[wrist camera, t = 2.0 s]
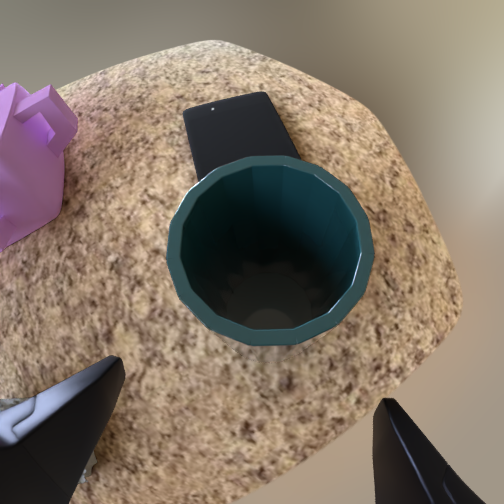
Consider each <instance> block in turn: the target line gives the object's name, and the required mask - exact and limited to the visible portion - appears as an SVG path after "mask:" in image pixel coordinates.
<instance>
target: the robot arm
mask: <svg viewBox="0 0 504 504" xmlns="http://www.w3.org/2000/svg"><path fill="white" fill-rule="evenodd" d="M125 376H126V374H125V370H124V366H123V361H122V359H121V358H120V357H117V356H113V355H110V356H108V357H106V358H104V359H102V360H101V361H99V362H97V363H95V364H93V365H91V366H89V367H88V368H86V369H84V370H82V371H80V372H78V373H77V374H75V375H73V376H71V377H69V378H67V379H65V380H63V381H62V382H60V383H58V384H56V385H54V386H52V387H50V388H48V389H47V390H45V391H43V392H41V393H39V394H37V395H36V396H33V397H31V398H29V399H27V400H25V401H23V402H21V403H19V404H17V405H15V406H12V407H10V408H7V409H5V410H2V411H0V504H69V502H70V500H71V499H70V498H71V497H72V495H73V493H74V491H75V489H76V486H77V484H78V482H79V480H80V478H81V476H82V474H83V472H84V469H85V467H86V465H87V463H88V461H89V459H90V457H91V455H92V453H93V451H94V449H95V447H96V445H97V443H98V441H99V439H100V437H101V435H102V433H103V431H104V429H105V427H106V425H107V423H108V421H109V419H110V417H111V415H112V413H113V410H114V408H115V405H116V402H117V399H118V397H119V394H120V391H121V389H122V386H123V383H124V381H125ZM447 464H448V463H447V462H446V461H445V459H444V458H443V457H442V456H441V454H440V453H439V452H438V451H437V450H436V448H435V447H434V446H433V445H432V444H431V442H430V441H429V440H428V439H427V437H426V436H425V435H424V434H423V432H422V431H421V430H420V429H419V428H418V426H417V425H416V424H415V423H414V422H413V420H412V419H411V418H410V417H409V415H408V414H407V413H406V412H405V411H404V410H403V408H402V407H401V406H400V405H399V403H398V402H397V401H396V400H395V399H394V398H383V399H382V400H381V401H380V403H379V405H378V407H377V409H376V411H375V413H374V416H373V469H374V482H375V500H376V501H375V502H376V504H486V503H485V502H483V501H482V500H481V499H480V498H479V497H478V496H477V495H476V494H475V493H474V492H473V491H472V490H471V489H470V488H469V487H468V486H467V485H466V484H465V483H464V482H463V481H462V480H461V478H460V477H459V476H458V475H457V474H456V473H455V471H454V470H453V469H452V468H451V467H450V465H447Z"/></svg>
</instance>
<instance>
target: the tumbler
mask: <svg viewBox="0 0 504 504" xmlns="http://www.w3.org/2000/svg"><path fill="white" fill-rule="evenodd" d="M374 254H375V252H374V246H373V240H372V234H371V229H370V223H369V219H368V216H367V215H366V213H365V212H364V210H363V208H362V207H361V205H360V204H359V202H358V201H357V199H356V197H355V196H354V194H353V193H352V191H351V190H350V189H349V188H348V186H346V185H345V184H344V183H342V182H341V181H340V180H338V179H337V178H336V177H334V176H333V175H332V174H330V173H329V172H327V171H326V170H325V169H323V168H322V167H319V166H318V165H315V164H312V163H309V162H305V161H302V160H299V159H296V158H292V157H289V156H284V155H283V156H250V157H246V158H243V159H240V160H238V161H235V162H232V163H229V164H227V165H224V166H221V167H218V168H216V169H214V170H213V171H212V172H211V173H209V174H208V175H207V176H206V177H204V178H203V179H202V180H201V181H200V182H198V183H197V184H196V185H195V186H194V187H192V188H191V189H190V190H189V191H188V192H187V193H186V195H185V197H184V199H183V201H182V202H181V204H180V206H179V208H178V209H177V211H176V213H175V215H174V217H173V218H172V220H171V224H170V226H169V235H168V245H167V255H166V260H167V266H168V269H169V272H170V275H171V278H172V281H173V284H174V286H175V289H176V292H177V295H178V297H179V299H180V300H181V301H182V302H183V304H184V305H185V306H186V307H187V308H188V309H189V310H190V311H191V312H192V313H193V314H194V315H195V316H196V317H197V318H198V319H199V320H200V321H201V323H202V324H203V325H204V326H205V327H206V328H207V329H209V330H210V331H211V332H212V333H214V334H215V335H216V336H217V337H218V338H220V339H221V340H222V341H223V342H225V343H226V344H227V345H228V346H230V347H231V348H232V349H233V350H235V351H236V352H237V353H239V354H240V355H241V356H244V357H246V358H248V359H250V360H253V361H256V362H259V363H277V362H282V361H285V360H287V359H290V358H291V357H293V356H296V355H298V354H299V353H301V352H302V351H304V350H305V349H306V348H308V347H309V346H311V345H312V344H313V343H315V342H316V341H317V340H319V339H320V338H322V337H323V336H324V335H326V334H327V333H328V332H330V331H331V330H332V329H334V328H335V327H336V326H337V325H339V324H340V323H341V322H342V320H343V319H344V318H345V317H346V316H347V314H348V313H349V312H350V311H351V310H352V309H353V307H354V306H355V305H356V304H357V302H358V301H359V300H360V299H361V298H362V296H363V295H364V293H365V291H366V288H367V284H368V280H369V277H370V273H371V269H372V265H373V261H374V257H375V256H374Z"/></svg>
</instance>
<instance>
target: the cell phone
mask: <svg viewBox="0 0 504 504" xmlns="http://www.w3.org/2000/svg"><path fill="white" fill-rule="evenodd" d="M183 118H184V122H185V127H186V131H187V135H188V140H189V144H190V148H191V152H192V157H193V161H194V165H195V169H196V173H197V177H198V181H199V182H200V181H201V180H202V179H203V178H204V177H206V176H207V175H208V174H209V173H211V172H212V171H213V170H214V169H216V168H218V167H221V166H224V165H227V164H229V163H232V162H235V161H238V160H240V159H243V158H246V157H250V156H283V155H284V156H289V157H292V158H296V159H299V160H301V158H300V156H299V154H298V152H297V150H296V148H295V146H294V144H293V142H292V140H291V138H290V136H289V134H288V132H287V130H286V128H285V126H284V124H283V122H282V121H281V119H280V117H279V115H278V113H277V111H276V109H275V107H274V106H273V104H272V102H271V100H270V98H269V97H268V95H267V93H266V92H255V93H250V94H245V95H240V96H236V97H231V98H227V99H223V100H219V101H215V102H211V103H207V104H203V105H199V106H196V107H192V108H189V109H186V110H185V111H183Z"/></svg>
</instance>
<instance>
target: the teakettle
mask: <svg viewBox="0 0 504 504" xmlns="http://www.w3.org/2000/svg"><path fill="white" fill-rule="evenodd" d="M77 124H78V118H77V117H76V116H75V114H74V113H73V112H72V111H71V109H70V108H69V107H68V106H67V104H66V103H65V102H64V101H63V99H62V98H61V97H60V95H59V94H58V93H57V92H56V90H55V89H54V88H53V86H52V85H51V84H50V85H48V86H46V87H45V88H43V89H41V90H39V91H37V92H35V93H34V94H32V95H31V94H30V93H28V92H27V91H26V90H25V89H24V88H23V87H22V86H20V85H19V84H18V83H12V84H11V85H9V86H8V87H6V88H5V87H4V85H3V83H2V84H1V85H0V252H2V251H3V250H4V248H6V247H7V246H9V245H11V244H13V243H15V242H16V241H18V240H20V239H22V238H24V237H25V236H27V235H29V234H30V233H32V232H34V231H35V230H37V229H39V228H40V227H42V226H44V225H45V224H47V223H48V222H50V221H52V220H53V219H54V218H56V217H57V216H58V215H59V213H60V210H61V206H62V200H63V188H64V168H65V166H64V153H63V150H64V149H65V147H66V146H67V145H68V143H69V142H70V141H71V139H72V138H73V137H74V135H75V134H76V133H77Z"/></svg>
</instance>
